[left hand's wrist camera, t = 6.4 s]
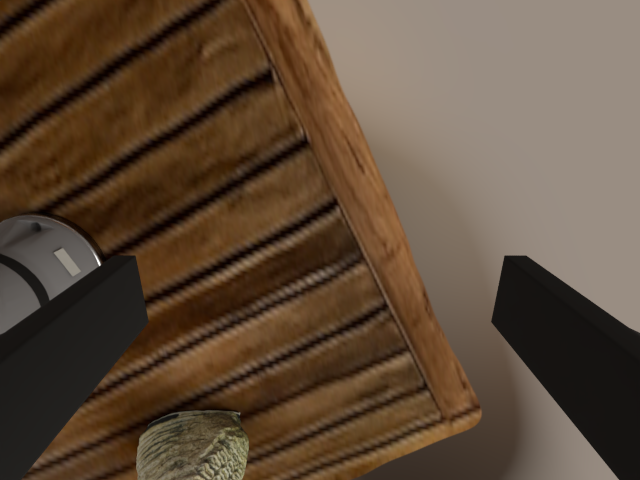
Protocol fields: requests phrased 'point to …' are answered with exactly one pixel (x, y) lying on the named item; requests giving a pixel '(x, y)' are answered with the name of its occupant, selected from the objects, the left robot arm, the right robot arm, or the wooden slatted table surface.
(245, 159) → the wooden slatted table surface
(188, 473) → the fossil
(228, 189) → the wooden slatted table surface
